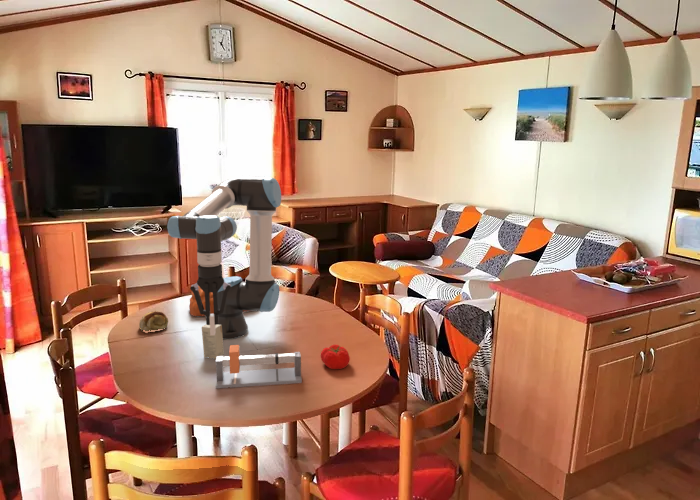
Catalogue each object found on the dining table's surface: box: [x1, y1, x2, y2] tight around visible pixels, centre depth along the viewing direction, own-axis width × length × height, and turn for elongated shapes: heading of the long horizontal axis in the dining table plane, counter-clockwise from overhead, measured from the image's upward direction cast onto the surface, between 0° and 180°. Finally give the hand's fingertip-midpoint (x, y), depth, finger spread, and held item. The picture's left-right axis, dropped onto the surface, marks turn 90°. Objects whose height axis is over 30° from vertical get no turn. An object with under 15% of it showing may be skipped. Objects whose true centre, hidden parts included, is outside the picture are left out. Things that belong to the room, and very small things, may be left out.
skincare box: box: [201, 324, 225, 360], centre depth 201 cm, size 6×4×12 cm
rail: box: [215, 351, 302, 382], centre depth 183 cm, size 28×4×7 cm, turn 99°
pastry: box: [139, 310, 169, 331], centre depth 230 cm, size 14×12×8 cm
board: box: [215, 367, 302, 389], centre depth 184 cm, size 28×10×1 cm, turn 99°
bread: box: [188, 280, 248, 317], centre depth 253 cm, size 16×31×13 cm, turn 110°
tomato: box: [320, 344, 351, 370], centre depth 195 cm, size 10×11×6 cm
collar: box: [228, 344, 241, 374], centre depth 181 cm, size 3×6×8 cm, turn 9°
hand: (212, 333), depth 178 cm, fingers closed
